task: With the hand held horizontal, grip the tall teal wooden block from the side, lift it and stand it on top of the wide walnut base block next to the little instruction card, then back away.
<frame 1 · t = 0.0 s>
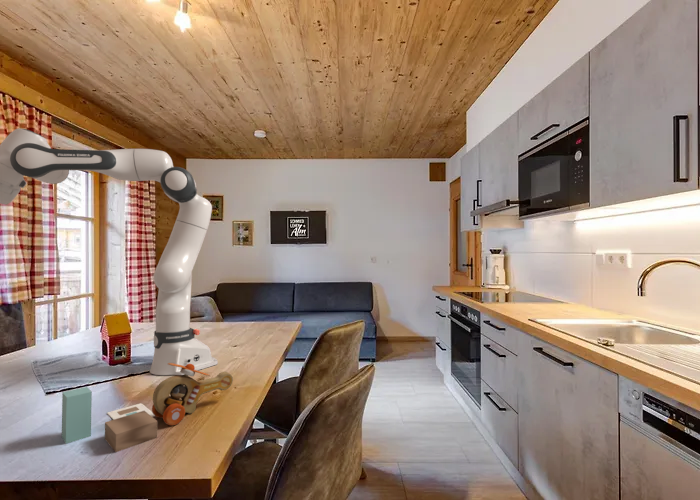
instruction card: (131, 414, 91), on the table
toy helicopter: (191, 413, 92), on the table
walnut base block: (130, 439, 79), on the table
teal tall block: (76, 436, 80), on the table
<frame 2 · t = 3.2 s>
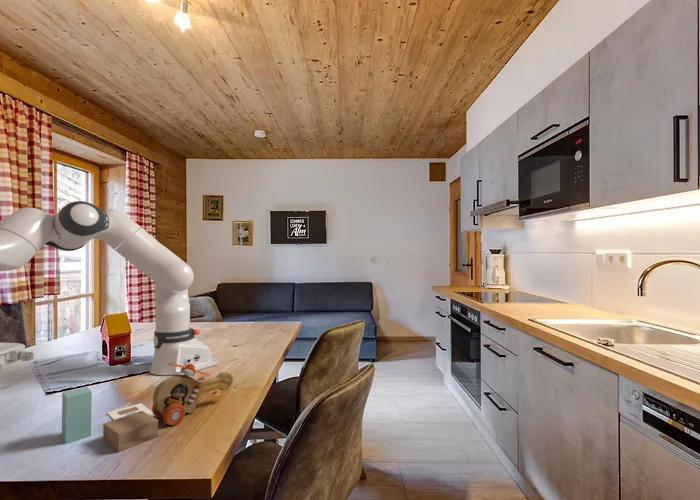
hand: (16, 362, 78), 17 cm above the table, tool horizontal, fingers open, 8 cm apart
nothing on the table moved.
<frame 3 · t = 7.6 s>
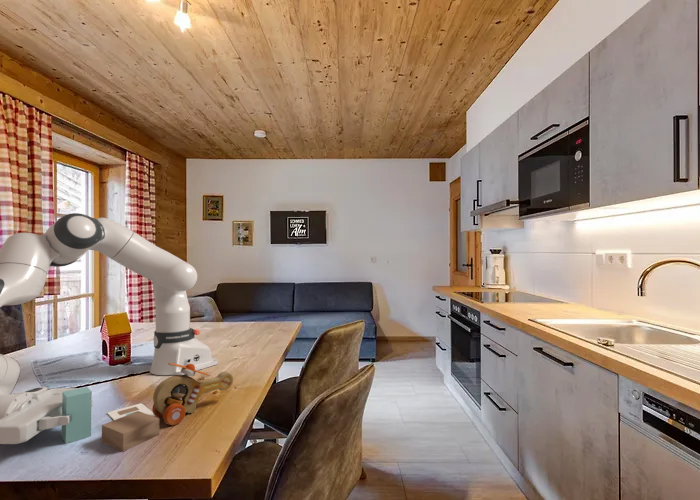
hand: (81, 411, 80), 6 cm above the table, tool horizontal, fingers closed on teal tall block, 6 cm apart
teal tall block: (76, 436, 80), on the table, touching gripper
everything else where it was.
when the fingers open (10 cm above the table, at t = 12.1 s): teal tall block drops 1 cm, resting on walnut base block.
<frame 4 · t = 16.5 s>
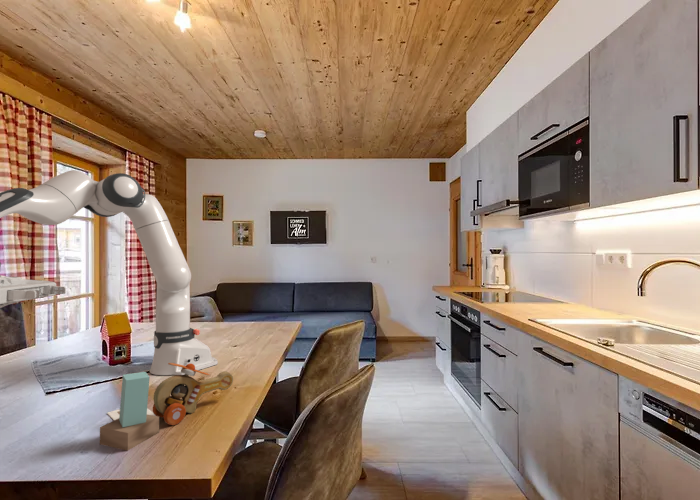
hand: (51, 292, 85), 32 cm above the table, tool horizontal, fingers open, 8 cm apart
walnut base block: (130, 439, 79), on the table, touching teal tall block
teal tall block: (132, 421, 79), point 4 cm above the table, touching walnut base block
everything else where it was.
at the end: teal tall block 0.5 cm off-centre on the walnut base block, point 4.1 cm above the walnut base block's base; teal tall block tilted 2°; the gripper is holding nothing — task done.
